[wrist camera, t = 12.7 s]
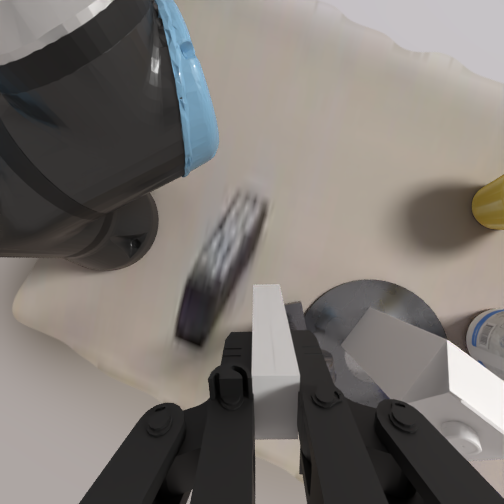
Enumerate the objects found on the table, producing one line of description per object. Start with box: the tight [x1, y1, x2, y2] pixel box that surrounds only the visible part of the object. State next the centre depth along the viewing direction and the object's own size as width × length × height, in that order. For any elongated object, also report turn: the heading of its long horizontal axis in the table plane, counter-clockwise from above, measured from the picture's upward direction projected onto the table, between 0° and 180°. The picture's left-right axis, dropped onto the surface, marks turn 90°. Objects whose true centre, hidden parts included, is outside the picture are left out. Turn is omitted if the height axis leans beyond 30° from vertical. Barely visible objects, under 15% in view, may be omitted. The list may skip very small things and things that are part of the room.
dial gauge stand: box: [284, 301, 337, 383], centre depth 27 cm, size 5×6×18 cm
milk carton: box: [341, 307, 504, 461], centre depth 26 cm, size 7×7×19 cm
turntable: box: [304, 280, 447, 408], centre depth 35 cm, size 22×22×1 cm
